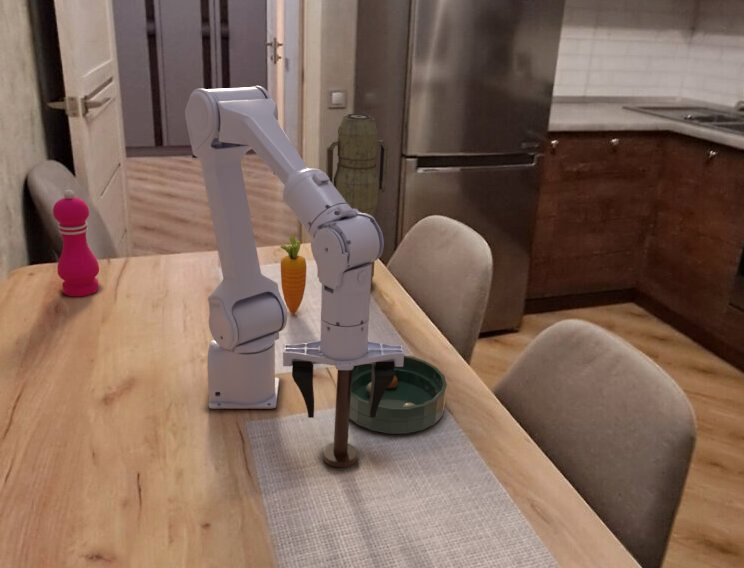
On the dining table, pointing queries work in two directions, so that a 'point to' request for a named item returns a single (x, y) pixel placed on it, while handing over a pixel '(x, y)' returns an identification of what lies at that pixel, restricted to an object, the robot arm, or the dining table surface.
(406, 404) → the bead
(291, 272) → the carrot
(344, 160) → the thermos
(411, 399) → the bowl
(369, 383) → the bead
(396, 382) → the bead
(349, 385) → the stick
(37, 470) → the dining table surface
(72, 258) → the pepper mill
